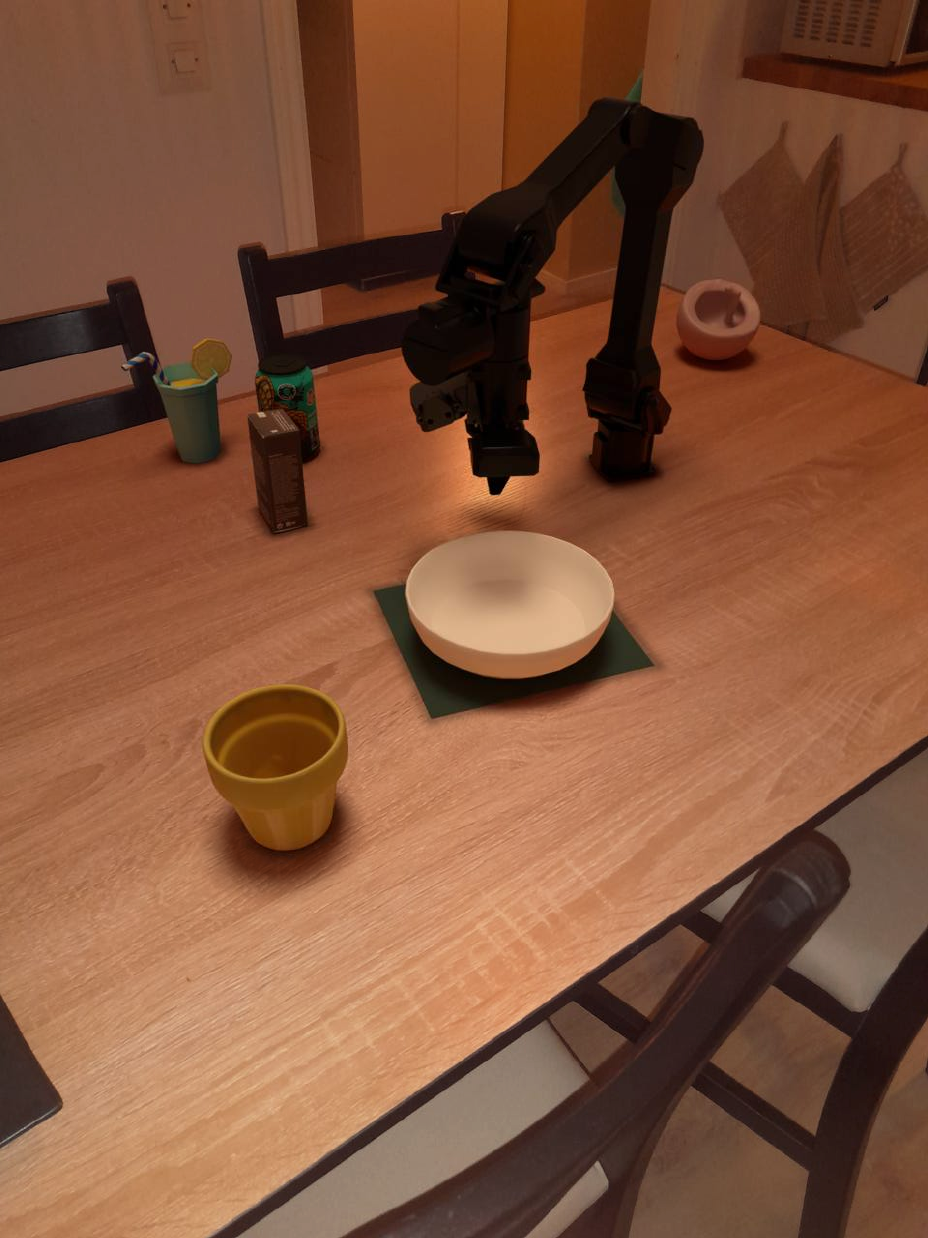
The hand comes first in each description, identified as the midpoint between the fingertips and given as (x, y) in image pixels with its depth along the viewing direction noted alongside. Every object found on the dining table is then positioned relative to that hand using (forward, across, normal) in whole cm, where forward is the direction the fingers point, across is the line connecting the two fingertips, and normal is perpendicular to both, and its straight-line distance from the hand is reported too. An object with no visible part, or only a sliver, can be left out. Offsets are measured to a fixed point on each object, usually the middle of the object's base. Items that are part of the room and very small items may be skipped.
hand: (494, 493), depth 101 cm
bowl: (+8, +15, 0) cm, 17 cm away
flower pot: (+8, +36, -20) cm, 42 cm away
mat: (+8, +13, 0) cm, 15 cm away
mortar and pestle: (+8, -50, +38) cm, 63 cm away
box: (+8, -9, -23) cm, 26 cm away
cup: (+8, -24, -36) cm, 44 cm away
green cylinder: (+8, -24, -23) cm, 35 cm away
